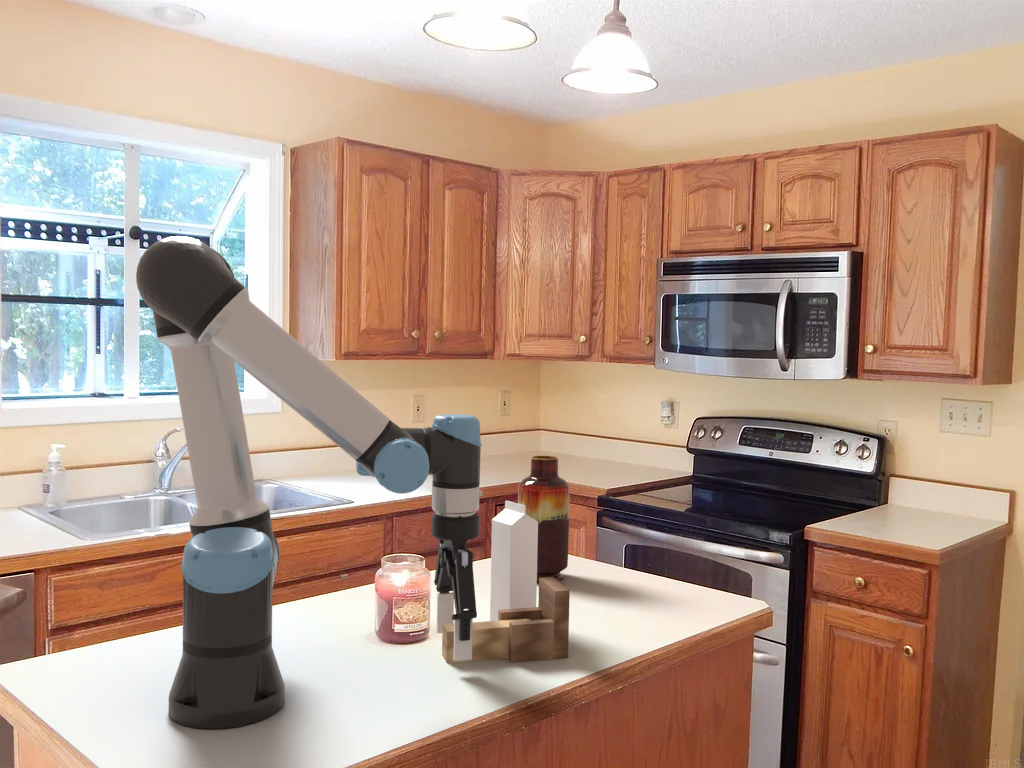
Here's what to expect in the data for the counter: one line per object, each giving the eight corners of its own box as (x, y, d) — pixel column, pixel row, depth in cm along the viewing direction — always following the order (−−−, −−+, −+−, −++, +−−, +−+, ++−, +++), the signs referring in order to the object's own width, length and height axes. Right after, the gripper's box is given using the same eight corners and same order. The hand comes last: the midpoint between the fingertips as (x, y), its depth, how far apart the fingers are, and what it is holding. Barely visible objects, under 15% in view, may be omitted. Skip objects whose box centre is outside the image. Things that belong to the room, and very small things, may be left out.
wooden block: (446, 662, 139) (447, 631, 139) (442, 655, 142) (442, 624, 142) (534, 655, 143) (535, 625, 143) (528, 648, 146) (529, 618, 146)
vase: (512, 582, 186) (515, 459, 185) (520, 569, 197) (523, 453, 196) (564, 586, 184) (567, 461, 183) (570, 572, 195) (572, 455, 194)
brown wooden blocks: (511, 662, 140) (512, 593, 139) (497, 645, 147) (499, 580, 147) (568, 657, 142) (569, 590, 142) (551, 640, 150) (553, 576, 150)
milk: (509, 632, 154) (511, 507, 153) (489, 623, 159) (491, 501, 158) (536, 626, 158) (538, 503, 157) (516, 617, 163) (518, 498, 162)
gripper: (499, 527, 129) (496, 671, 130) (461, 497, 153) (459, 619, 154) (448, 529, 127) (446, 675, 128) (418, 499, 151) (416, 622, 152)
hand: (453, 645), depth 141 cm, fingers open, 12 cm apart
